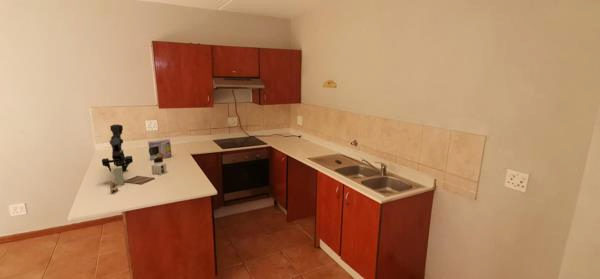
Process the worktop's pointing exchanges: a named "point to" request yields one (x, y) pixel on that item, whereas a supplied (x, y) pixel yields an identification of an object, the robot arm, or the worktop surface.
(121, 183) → the sage block
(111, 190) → the architectural model
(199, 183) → the worktop surface
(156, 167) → the container
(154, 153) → the cake pan box
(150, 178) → the walnut board
